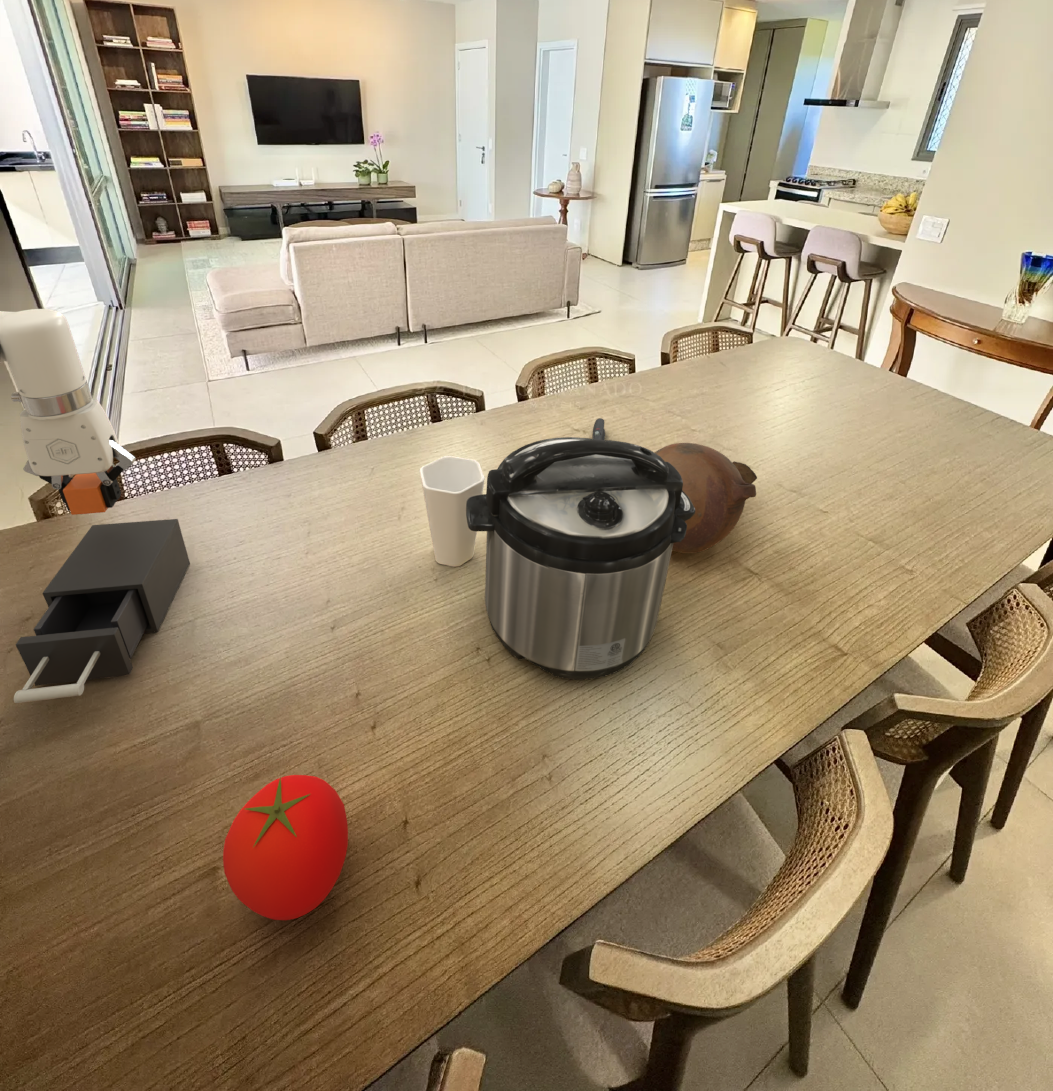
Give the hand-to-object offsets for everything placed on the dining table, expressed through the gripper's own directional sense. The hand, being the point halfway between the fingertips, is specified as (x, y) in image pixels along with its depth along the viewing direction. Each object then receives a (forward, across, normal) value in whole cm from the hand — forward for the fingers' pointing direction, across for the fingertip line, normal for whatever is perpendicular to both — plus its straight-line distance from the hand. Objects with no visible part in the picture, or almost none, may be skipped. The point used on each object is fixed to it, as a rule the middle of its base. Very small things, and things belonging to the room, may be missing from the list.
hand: (94, 502), depth 90 cm
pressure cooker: (+15, +72, -18) cm, 75 cm away
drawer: (+14, +3, -17) cm, 22 cm away
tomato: (+15, +35, -49) cm, 62 cm away
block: (0, 0, 0) cm, 0 cm away
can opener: (+15, +91, +29) cm, 96 cm away
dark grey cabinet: (+15, +4, -5) cm, 17 cm away
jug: (+15, +102, -1) cm, 103 cm away
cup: (+15, +54, -2) cm, 57 cm away
